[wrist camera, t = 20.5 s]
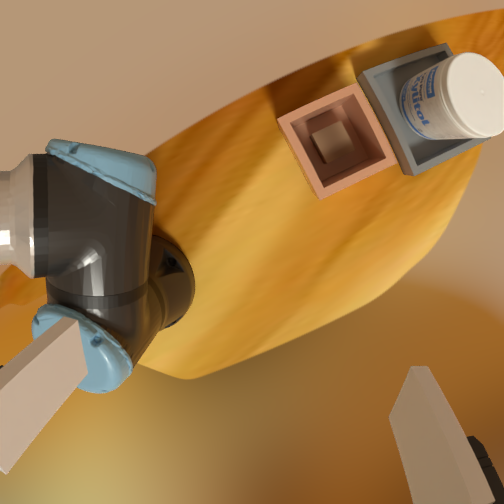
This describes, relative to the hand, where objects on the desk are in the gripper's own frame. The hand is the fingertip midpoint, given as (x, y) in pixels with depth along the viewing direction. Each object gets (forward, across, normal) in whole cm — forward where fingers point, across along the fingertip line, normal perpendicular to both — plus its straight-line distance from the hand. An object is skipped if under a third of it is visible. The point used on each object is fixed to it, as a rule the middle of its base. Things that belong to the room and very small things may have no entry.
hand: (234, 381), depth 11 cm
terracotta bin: (+35, +6, +11) cm, 37 cm away
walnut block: (+34, +6, +11) cm, 36 cm away
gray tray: (+35, +20, +19) cm, 44 cm away
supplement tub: (+34, +20, +19) cm, 44 cm away
